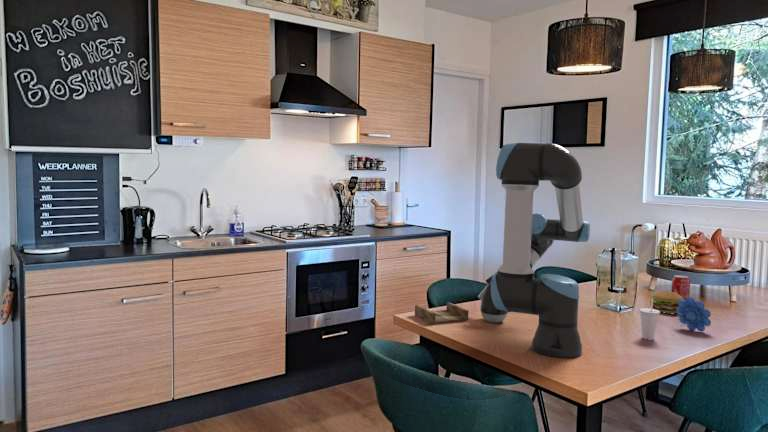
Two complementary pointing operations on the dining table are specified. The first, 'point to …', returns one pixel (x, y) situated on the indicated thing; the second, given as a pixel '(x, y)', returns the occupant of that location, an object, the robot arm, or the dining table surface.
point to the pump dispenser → (491, 308)
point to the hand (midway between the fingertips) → (490, 303)
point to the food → (666, 301)
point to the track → (442, 314)
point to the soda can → (681, 286)
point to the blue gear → (693, 314)
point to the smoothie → (649, 321)
